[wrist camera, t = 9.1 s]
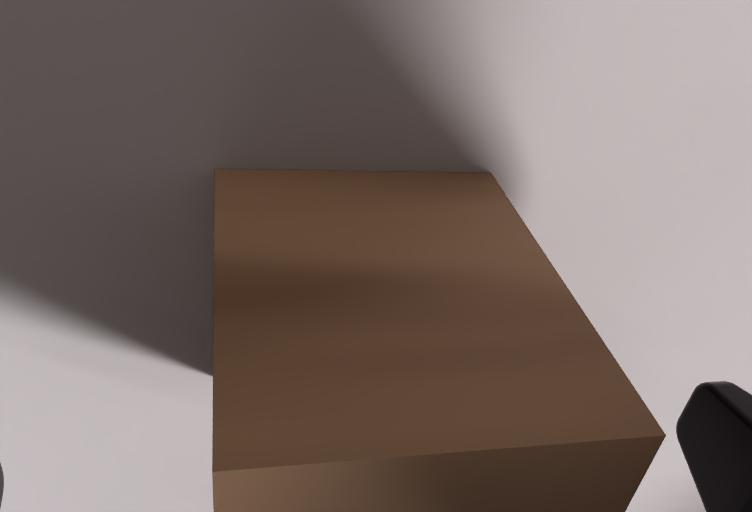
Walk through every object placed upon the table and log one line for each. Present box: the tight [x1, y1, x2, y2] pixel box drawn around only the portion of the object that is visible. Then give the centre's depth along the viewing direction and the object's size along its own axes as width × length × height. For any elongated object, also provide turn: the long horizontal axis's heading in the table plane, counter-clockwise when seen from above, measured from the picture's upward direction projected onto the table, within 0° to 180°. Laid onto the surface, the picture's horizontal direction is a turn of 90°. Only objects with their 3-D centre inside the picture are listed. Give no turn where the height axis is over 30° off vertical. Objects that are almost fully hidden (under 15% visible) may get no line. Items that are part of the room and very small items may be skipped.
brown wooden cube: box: [212, 169, 666, 512], centre depth 9 cm, size 4×4×5 cm
